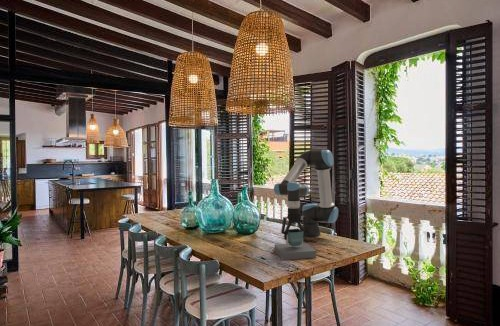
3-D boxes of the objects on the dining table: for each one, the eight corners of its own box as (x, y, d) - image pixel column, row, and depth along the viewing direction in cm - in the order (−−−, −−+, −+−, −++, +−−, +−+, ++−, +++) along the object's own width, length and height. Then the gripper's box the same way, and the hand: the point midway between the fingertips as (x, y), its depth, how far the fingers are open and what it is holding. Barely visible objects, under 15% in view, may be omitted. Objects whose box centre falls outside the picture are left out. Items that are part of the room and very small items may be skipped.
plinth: (304, 248, 218) (304, 242, 218) (316, 257, 198) (316, 250, 198) (274, 250, 215) (274, 244, 215) (283, 260, 195) (282, 253, 195)
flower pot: (290, 247, 201) (290, 232, 201) (285, 244, 209) (284, 229, 209) (304, 246, 203) (303, 231, 203) (298, 242, 212) (298, 228, 212)
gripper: (278, 209, 201) (279, 247, 201) (312, 207, 204) (313, 245, 204) (275, 207, 208) (275, 244, 208) (308, 205, 211) (309, 242, 212)
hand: (294, 244), depth 206 cm, fingers closed on flower pot, 9 cm apart
